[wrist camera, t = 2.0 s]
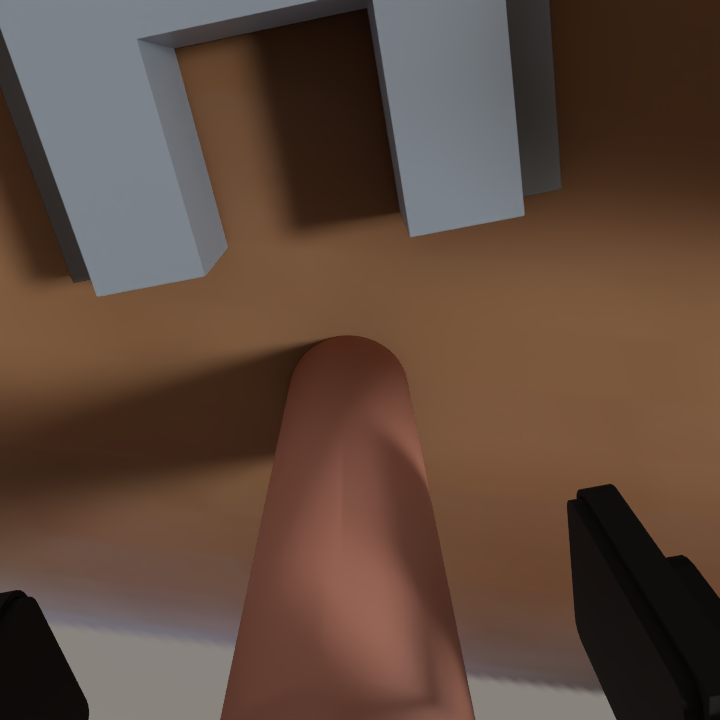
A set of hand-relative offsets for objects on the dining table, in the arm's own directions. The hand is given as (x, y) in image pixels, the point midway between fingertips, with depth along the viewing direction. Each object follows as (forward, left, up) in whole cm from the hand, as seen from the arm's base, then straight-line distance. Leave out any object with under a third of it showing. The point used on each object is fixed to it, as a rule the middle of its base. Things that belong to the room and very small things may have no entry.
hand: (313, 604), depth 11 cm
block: (-1, -9, -9) cm, 13 cm away
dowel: (-1, 0, -9) cm, 9 cm away
